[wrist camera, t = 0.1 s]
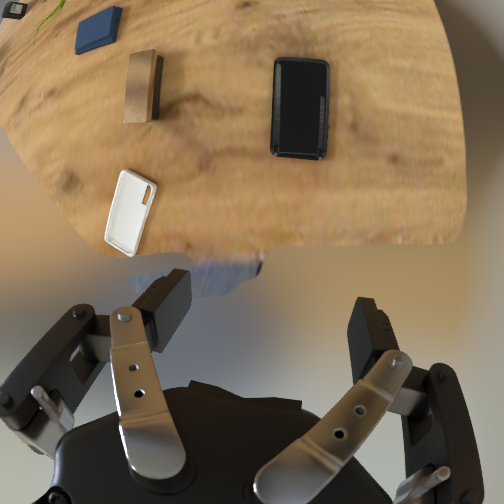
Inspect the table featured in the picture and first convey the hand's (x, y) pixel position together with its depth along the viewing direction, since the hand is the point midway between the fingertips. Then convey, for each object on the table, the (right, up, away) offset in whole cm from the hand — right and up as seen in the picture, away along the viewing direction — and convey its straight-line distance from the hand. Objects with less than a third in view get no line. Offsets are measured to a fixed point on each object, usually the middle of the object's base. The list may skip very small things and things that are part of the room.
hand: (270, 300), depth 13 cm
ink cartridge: (-65, +70, +15) cm, 97 cm away
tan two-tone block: (-17, +29, +23) cm, 41 cm away
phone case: (-23, +9, +33) cm, 41 cm away
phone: (+6, +23, +21) cm, 32 cm away
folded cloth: (-30, +44, +19) cm, 57 cm away
